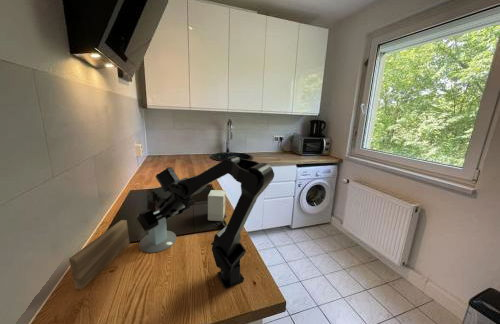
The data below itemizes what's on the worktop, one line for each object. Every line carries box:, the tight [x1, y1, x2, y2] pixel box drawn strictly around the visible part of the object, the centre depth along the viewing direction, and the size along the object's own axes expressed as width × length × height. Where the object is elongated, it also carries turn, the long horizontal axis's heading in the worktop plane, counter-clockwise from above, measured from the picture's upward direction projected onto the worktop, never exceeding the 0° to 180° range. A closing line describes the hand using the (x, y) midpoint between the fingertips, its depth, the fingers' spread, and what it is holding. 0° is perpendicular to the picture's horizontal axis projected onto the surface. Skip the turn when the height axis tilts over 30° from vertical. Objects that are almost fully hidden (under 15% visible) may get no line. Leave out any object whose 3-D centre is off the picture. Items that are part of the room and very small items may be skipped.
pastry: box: [221, 215, 232, 228], centre depth 92 cm, size 9×7×4 cm
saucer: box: [138, 230, 177, 254], centre depth 78 cm, size 13×13×1 cm
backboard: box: [68, 219, 130, 290], centre depth 65 cm, size 2×20×10 cm, turn 175°
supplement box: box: [207, 189, 226, 222], centre depth 96 cm, size 7×7×13 cm
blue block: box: [147, 209, 167, 245], centre depth 77 cm, size 4×5×11 cm
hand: (156, 221), depth 76 cm, fingers open, 9 cm apart
